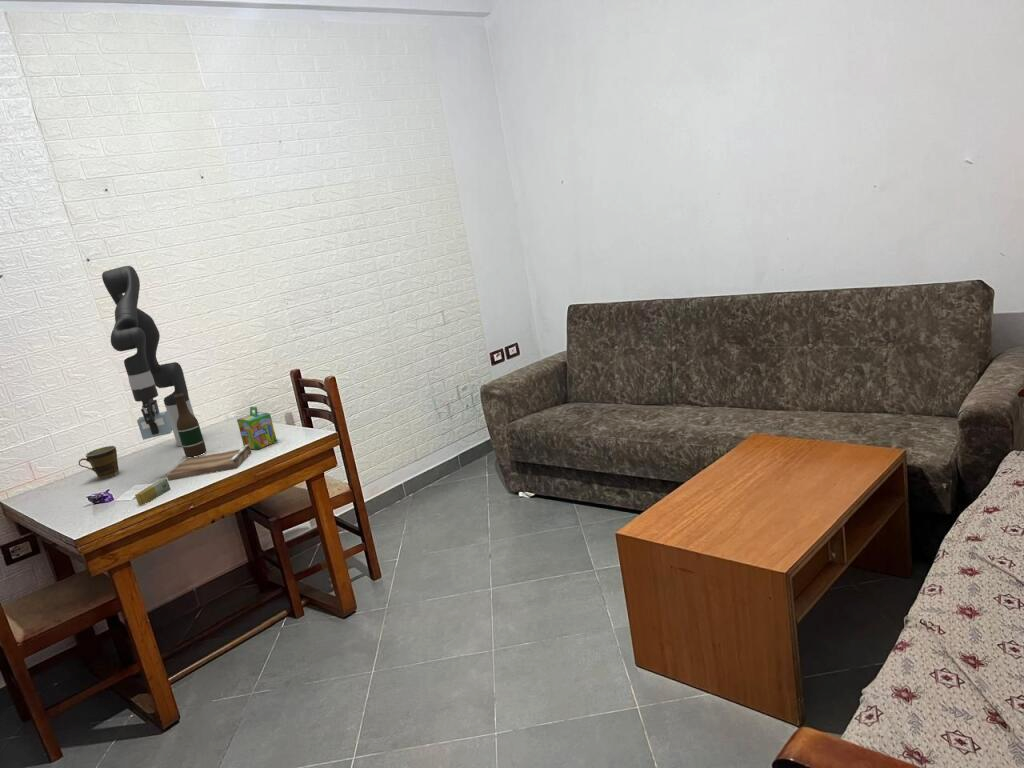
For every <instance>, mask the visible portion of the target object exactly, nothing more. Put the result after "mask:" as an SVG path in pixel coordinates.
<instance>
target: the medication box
mask: <svg viewBox="0 0 1024 768" xmlns="http://www.w3.org/2000/svg"><path fill="white" fill-rule="evenodd" d="M168 481H169V480H168V478H161V479H159V480H157V481H156V482H154V483H153V484H151V485H148V486H147V487H145V488H144V489H143V490H141V491H139V492H137V493H136V494H135V495H134V496H135V497H134V498H135V499H136V501H137V505H138V506H143V505H142V504H145V503H147V502H149V503H150V502H152V501H154V500H155V499H157V498H159V497H160V496H163V493H164V494H165V493H167V492H169V491H170V490H171V487H170V484H169V482H168ZM158 496H159V497H158ZM156 497H157V498H156ZM154 498H155V499H154ZM153 499H154V500H153ZM151 500H152V501H151ZM139 504H141V505H139ZM147 504H148V503H147ZM145 505H146V504H145Z"/></svg>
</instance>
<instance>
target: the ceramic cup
mask: <svg viewBox="0 0 1024 768" xmlns="http://www.w3.org/2000/svg"><path fill="white" fill-rule="evenodd" d="M85 457H86V458H83V457H82V458H81V459H79V460H78V465H79V467H81V468H82V467H83V468H85V469H88V470H90V471H93V472H94V473H95V474H96V477H97V478H98V479H99V480H101V479H102V480H106V479H105V478H108V479H110V478H109V477H111V478H113V477H116V476H117V475H119V474H120V473H119V472H120V471H119V470H120V469H119V462H118V454H117V447H116V446H115V445H107V446H103V447H99V448H96V449H92V450H91V451H89V452H87V453H86V454H85ZM82 461H86V462H87V463H89V464H90V466H91V467H88V466H85V465H81V462H82ZM118 473H119V474H118ZM116 474H117V475H116ZM115 475H116V476H115ZM112 476H113V477H112Z"/></svg>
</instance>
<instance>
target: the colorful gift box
mask: <svg viewBox="0 0 1024 768" xmlns="http://www.w3.org/2000/svg"><path fill="white" fill-rule="evenodd" d="M253 411H254V412H253ZM272 420H273V419H272V417H271V414H270V413H269V412H261V411H258V407H257V406H250V407H249V415H246V416H242V417H240V418H236V422H237V425H238V429H239V433H240V437H241V440H242V445H243V447H244V446H245V445H249V448H250V449H251V450H253V449H254V451H258V450H260V448H261V449H263V448H265V447H267V446H268V447H269V446H271V445H273V444H275V443H274V442H276V441H277V442H278V440H277V436H276V432H275V428H274V424H273V421H272ZM277 442H276V443H277ZM272 443H273V444H272Z"/></svg>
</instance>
